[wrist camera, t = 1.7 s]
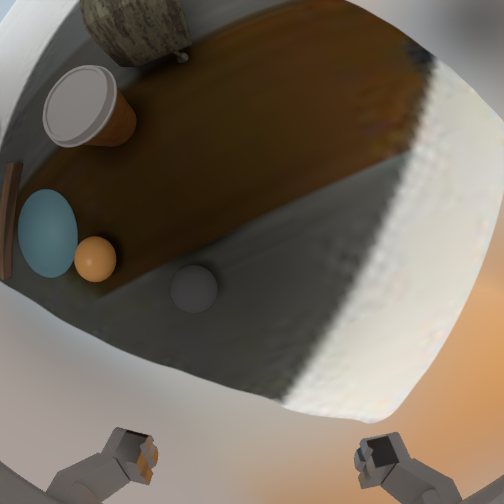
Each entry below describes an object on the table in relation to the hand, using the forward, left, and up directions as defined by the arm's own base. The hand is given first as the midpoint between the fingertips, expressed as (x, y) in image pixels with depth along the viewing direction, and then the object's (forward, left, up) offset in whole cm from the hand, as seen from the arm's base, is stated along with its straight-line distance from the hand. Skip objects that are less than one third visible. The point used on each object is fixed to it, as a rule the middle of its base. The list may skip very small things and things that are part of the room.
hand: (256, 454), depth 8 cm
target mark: (-31, -4, -29) cm, 43 cm away
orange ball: (-19, -4, -26) cm, 32 cm away
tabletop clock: (-21, +28, -29) cm, 46 cm away
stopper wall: (-41, -4, -29) cm, 50 cm away
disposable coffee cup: (-22, +14, -29) cm, 39 cm away
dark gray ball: (-5, -4, -26) cm, 26 cm away
